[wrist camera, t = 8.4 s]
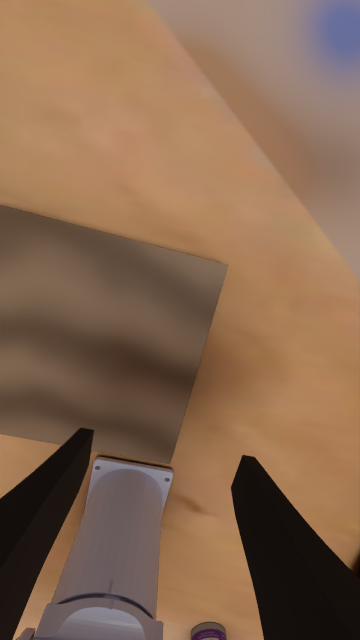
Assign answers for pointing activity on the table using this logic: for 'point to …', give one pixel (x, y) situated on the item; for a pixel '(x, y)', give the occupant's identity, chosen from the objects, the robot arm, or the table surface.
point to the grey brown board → (99, 335)
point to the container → (208, 632)
